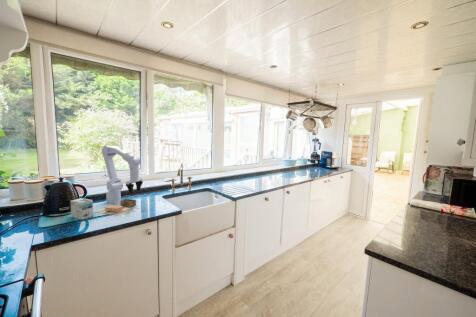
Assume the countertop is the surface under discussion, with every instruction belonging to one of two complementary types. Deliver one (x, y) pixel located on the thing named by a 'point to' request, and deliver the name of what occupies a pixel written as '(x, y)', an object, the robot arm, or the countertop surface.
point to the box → (128, 202)
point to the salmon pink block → (114, 208)
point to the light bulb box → (81, 208)
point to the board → (114, 212)
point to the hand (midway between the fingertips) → (134, 192)
